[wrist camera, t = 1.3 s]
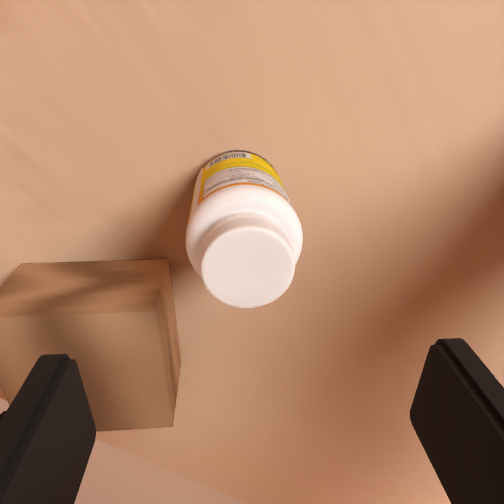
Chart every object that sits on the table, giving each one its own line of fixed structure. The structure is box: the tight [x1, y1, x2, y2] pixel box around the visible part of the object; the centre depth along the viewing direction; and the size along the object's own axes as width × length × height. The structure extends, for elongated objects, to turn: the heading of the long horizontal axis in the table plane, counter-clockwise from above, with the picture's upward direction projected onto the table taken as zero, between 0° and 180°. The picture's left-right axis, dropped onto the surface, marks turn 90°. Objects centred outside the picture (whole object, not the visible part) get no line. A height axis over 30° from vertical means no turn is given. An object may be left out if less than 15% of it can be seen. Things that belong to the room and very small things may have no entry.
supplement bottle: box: [186, 150, 303, 308], centre depth 20 cm, size 6×6×10 cm
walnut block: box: [0, 259, 181, 431], centre depth 26 cm, size 10×10×6 cm
